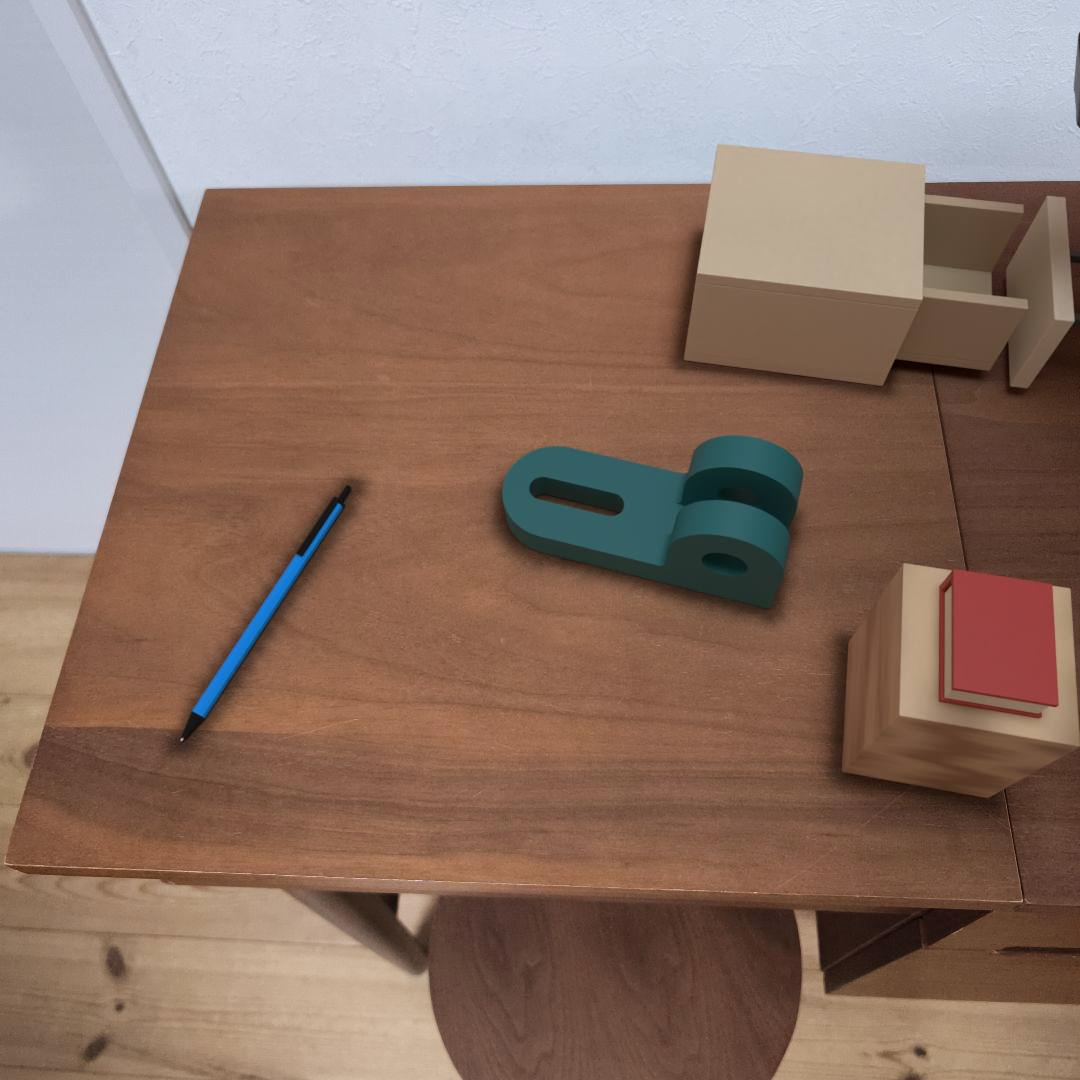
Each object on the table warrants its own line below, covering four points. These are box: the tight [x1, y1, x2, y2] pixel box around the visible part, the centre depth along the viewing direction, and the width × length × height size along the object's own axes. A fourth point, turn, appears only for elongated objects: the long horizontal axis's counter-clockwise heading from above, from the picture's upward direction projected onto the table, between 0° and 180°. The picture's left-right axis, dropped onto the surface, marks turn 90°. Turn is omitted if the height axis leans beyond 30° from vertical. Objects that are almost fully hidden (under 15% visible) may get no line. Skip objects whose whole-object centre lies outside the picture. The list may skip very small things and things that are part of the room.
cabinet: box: [683, 143, 926, 387], centre depth 65 cm, size 14×12×9 cm
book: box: [939, 568, 1059, 718], centre depth 44 cm, size 4×6×2 cm
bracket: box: [501, 434, 804, 610], centre depth 58 cm, size 18×7×8 cm, turn 73°
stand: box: [841, 562, 1080, 799], centre depth 50 cm, size 8×8×11 cm
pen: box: [180, 484, 352, 742], centre depth 59 cm, size 1×19×1 cm, turn 154°
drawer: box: [895, 193, 1080, 389], centre depth 63 cm, size 18×11×7 cm, turn 79°
